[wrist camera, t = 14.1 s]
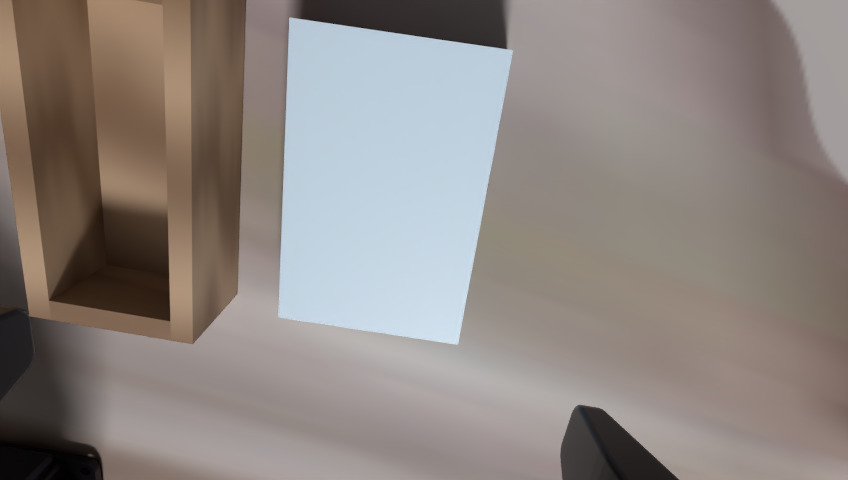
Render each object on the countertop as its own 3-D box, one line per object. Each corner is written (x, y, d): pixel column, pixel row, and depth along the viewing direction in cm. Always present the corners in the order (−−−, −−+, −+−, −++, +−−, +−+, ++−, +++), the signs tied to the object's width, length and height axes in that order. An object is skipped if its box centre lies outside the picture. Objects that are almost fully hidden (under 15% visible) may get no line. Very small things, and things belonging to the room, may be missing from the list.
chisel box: (237, 294, 22) (114, 431, 14) (101, 270, 22) (-98, 396, 14) (250, -154, 16) (52, -349, 8) (65, -186, 16) (-311, -412, 8)
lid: (457, 313, 22) (457, 344, 20) (297, 289, 22) (278, 317, 20) (505, 50, 18) (513, 50, 16) (310, 21, 18) (289, 17, 16)
